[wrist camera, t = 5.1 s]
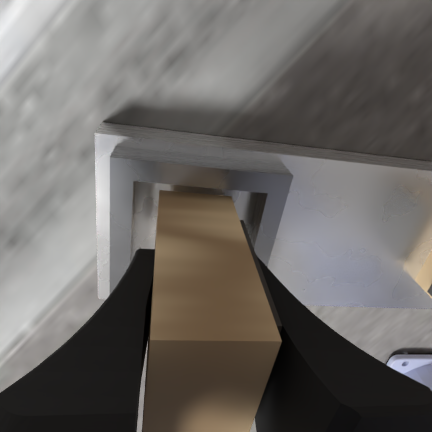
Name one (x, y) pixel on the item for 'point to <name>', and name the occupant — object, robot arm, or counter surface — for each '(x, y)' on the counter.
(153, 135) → the rail
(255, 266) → the block
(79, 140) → the counter surface
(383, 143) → the counter surface
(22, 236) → the counter surface
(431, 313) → the counter surface
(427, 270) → the fixed finger
